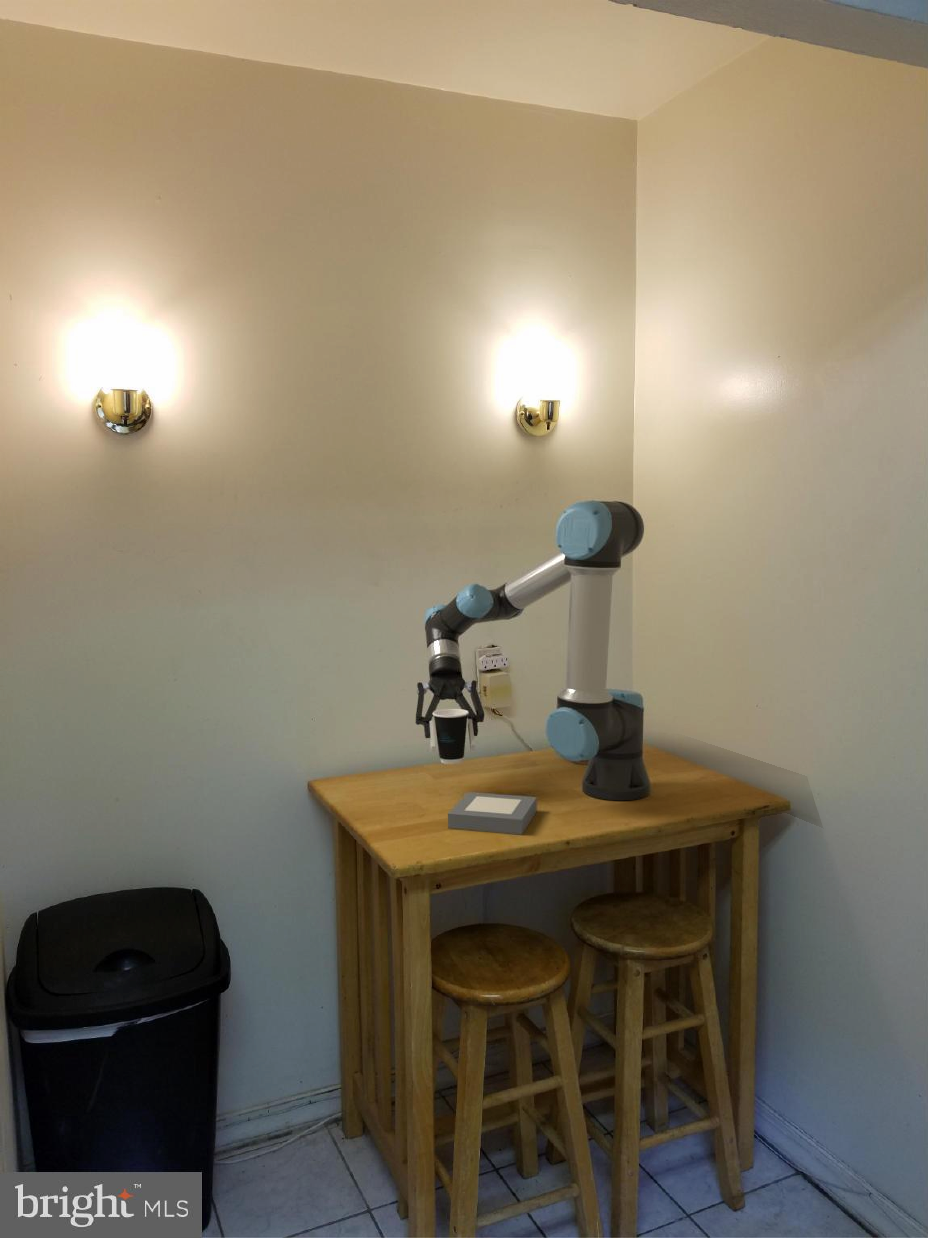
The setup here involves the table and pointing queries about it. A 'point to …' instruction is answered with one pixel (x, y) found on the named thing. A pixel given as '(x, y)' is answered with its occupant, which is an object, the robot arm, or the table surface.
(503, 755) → the table surface
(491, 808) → the plinth
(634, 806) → the table surface
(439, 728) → the dixie cup
